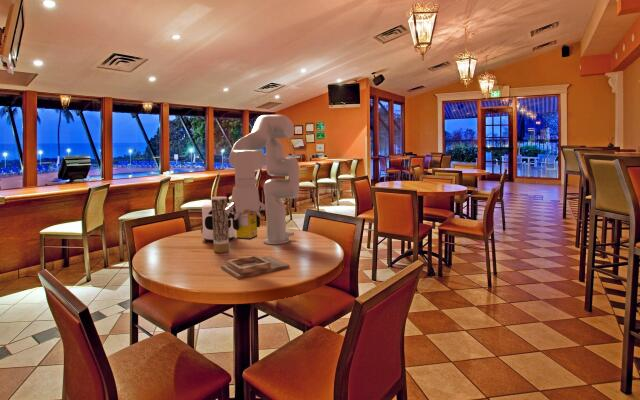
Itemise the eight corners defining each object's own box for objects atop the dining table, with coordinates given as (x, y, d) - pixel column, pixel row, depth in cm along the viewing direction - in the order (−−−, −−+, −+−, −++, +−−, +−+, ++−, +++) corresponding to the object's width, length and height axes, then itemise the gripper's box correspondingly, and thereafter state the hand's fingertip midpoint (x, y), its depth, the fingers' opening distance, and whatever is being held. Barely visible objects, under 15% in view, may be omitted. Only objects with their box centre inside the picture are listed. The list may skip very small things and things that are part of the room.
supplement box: (257, 237, 155) (256, 209, 154) (250, 240, 150) (249, 211, 148) (244, 236, 157) (243, 208, 156) (236, 239, 152) (235, 211, 150)
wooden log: (225, 253, 178) (222, 198, 175) (211, 252, 180) (208, 198, 176) (231, 249, 185) (229, 196, 182) (218, 248, 186) (215, 196, 183)
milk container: (215, 234, 217) (213, 201, 214) (242, 236, 210) (241, 203, 208) (194, 241, 201) (192, 206, 198) (223, 244, 194) (221, 208, 192)
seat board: (269, 258, 170) (269, 251, 170) (289, 267, 157) (289, 259, 157) (221, 268, 157) (220, 260, 157) (238, 279, 145) (237, 270, 144)
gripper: (261, 181, 159) (262, 224, 161) (219, 183, 149) (221, 229, 151) (270, 182, 153) (271, 227, 155) (227, 185, 143) (229, 232, 145)
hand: (246, 227), depth 153 cm, fingers closed on supplement box, 8 cm apart
